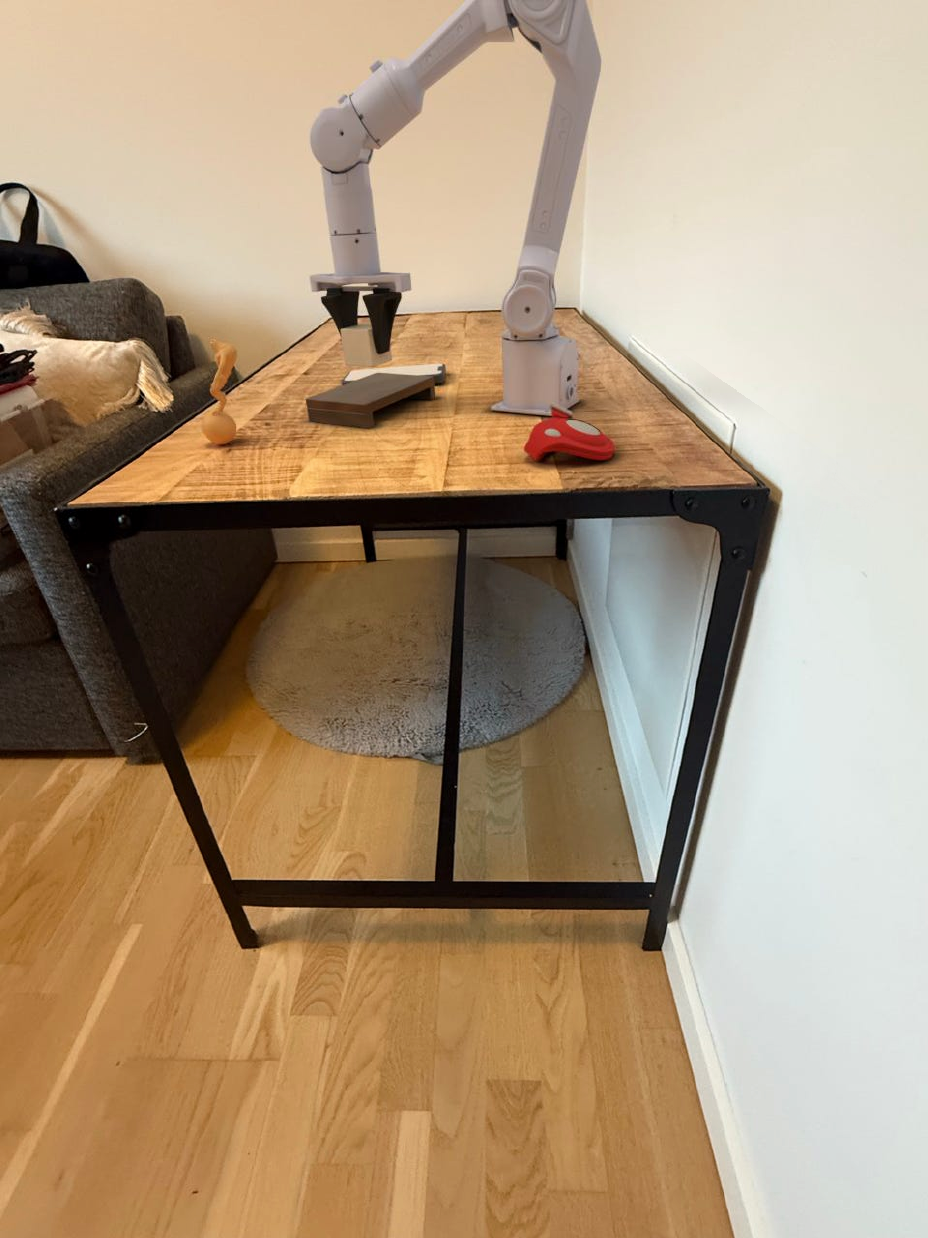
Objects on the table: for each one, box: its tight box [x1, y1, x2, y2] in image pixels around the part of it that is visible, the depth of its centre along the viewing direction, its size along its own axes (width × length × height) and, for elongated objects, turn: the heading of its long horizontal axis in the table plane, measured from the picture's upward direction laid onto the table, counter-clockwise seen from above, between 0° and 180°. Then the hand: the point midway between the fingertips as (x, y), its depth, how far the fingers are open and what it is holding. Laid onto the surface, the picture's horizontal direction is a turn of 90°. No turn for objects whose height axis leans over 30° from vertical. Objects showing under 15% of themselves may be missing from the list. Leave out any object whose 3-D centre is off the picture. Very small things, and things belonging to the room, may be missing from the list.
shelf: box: [305, 373, 436, 429], centre depth 92 cm, size 10×16×3 cm, turn 150°
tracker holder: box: [523, 402, 616, 462], centre depth 72 cm, size 12×4×10 cm
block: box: [340, 323, 393, 368], centre depth 88 cm, size 4×4×4 cm
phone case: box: [341, 363, 447, 386], centre depth 107 cm, size 9×2×16 cm
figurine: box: [201, 338, 238, 445], centre depth 80 cm, size 8×6×12 cm
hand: (367, 351), depth 89 cm, fingers closed on block, 4 cm apart
